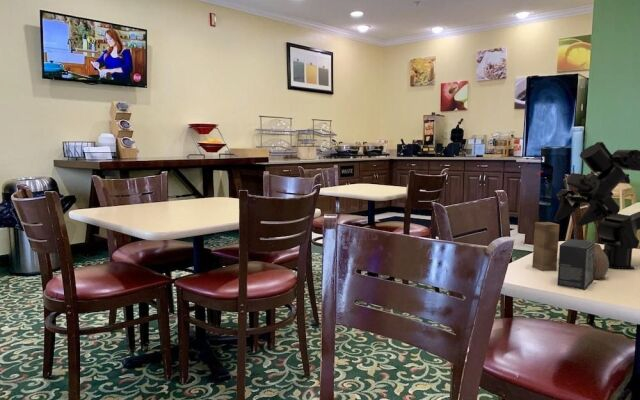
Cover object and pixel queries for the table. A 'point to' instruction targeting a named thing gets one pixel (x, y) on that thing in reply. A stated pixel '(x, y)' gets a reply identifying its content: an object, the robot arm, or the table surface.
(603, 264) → the vase
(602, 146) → the robot arm
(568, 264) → the small box
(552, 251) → the walnut block
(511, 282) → the table surface
